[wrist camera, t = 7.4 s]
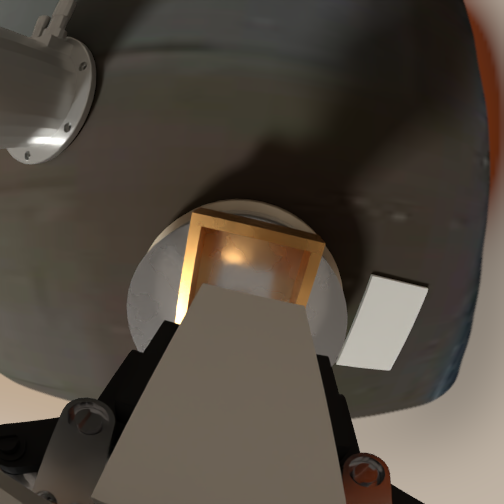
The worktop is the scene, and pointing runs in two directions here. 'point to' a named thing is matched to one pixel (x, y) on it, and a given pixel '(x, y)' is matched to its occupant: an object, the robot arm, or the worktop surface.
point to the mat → (381, 323)
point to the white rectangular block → (230, 413)
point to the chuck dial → (238, 273)
